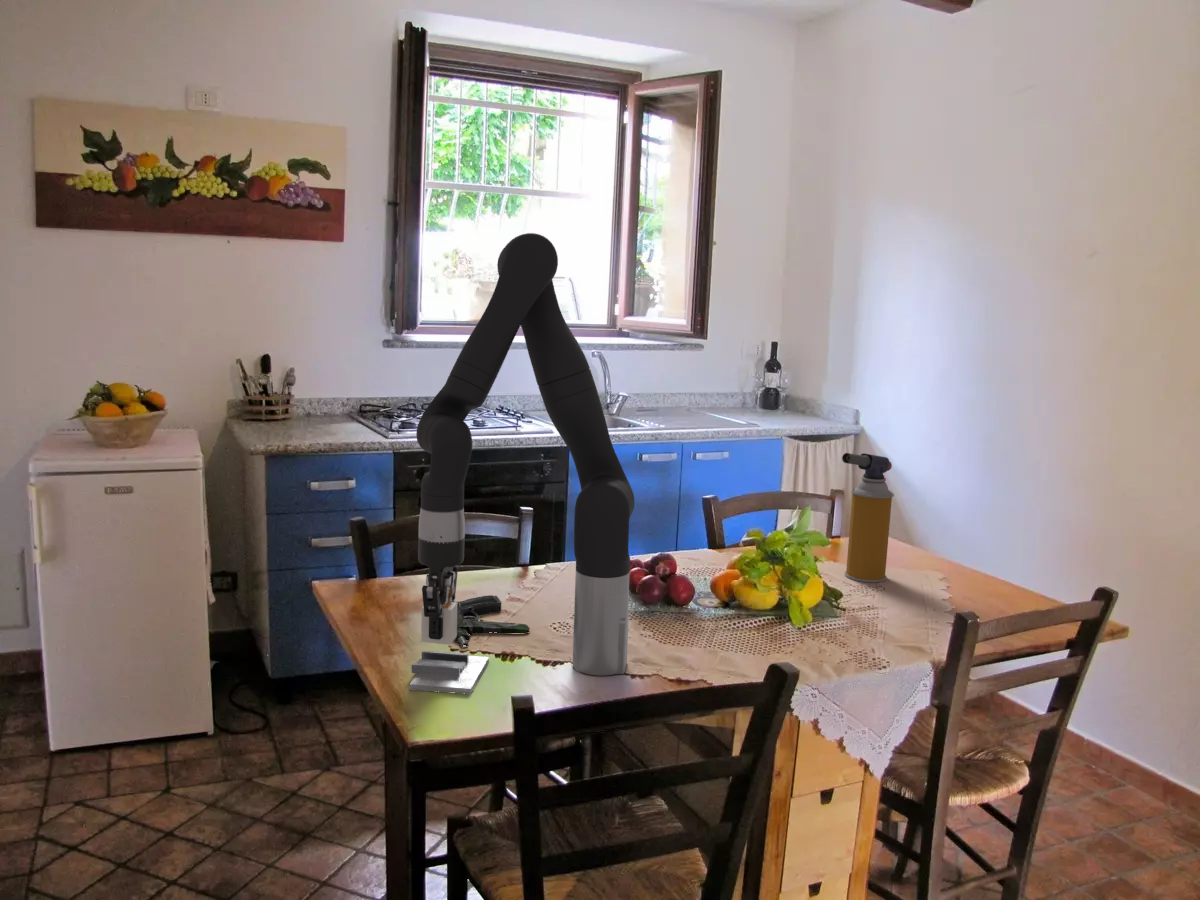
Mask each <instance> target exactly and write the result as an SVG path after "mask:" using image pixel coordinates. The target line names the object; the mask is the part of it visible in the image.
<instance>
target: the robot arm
mask: <svg viewBox="0 0 1200 900" xmlns="http://www.w3.org/2000/svg"><path fill="white" fill-rule="evenodd" d="M496 265H497V272H498V273H497V274H498V279H497V282H496V285H495V289H494V291H493V293H492V295H491V297H490V300H489V302H488V304H487V306H486V308H485V310H484V311H483V313H482V315H481V317H480V318H479V320H478V322H477V324H476V325H475V327H474V328H473V330H472V332H471V333H470V335H469V337H468V339H467V340H466V342H465V344H464V345H463V347H462V348H461V351H460V352H459V355H458V357H457V359H456V361H455V363H454V365H453V366H452V368H451V370H450V372H449V376H448V377H447V379H446V381H445V384H444V385H443V386H442V388H441V389H440V390H439V391H438V392H437V394H436V395H435V396H434V398H433V399H432V401H431V402H429V404H428V406H427V407H426V409H425V410H424V411H423V413H422V415H421V416H420V419H419V422H418V424H417V427H416V434H415V435H416V441H417V444H418V445H419V447H420V448H421V449H422V450H423V451H424V452H426V453H428V454H430V455H431V456H430V464H429V465H430V466H429V471H428V472H426V473H425V474H424V475H422V478H421V484H420V510H419V511H420V512H419V518H418V540H417V541H418V542H417V543H418V546H417V547H418V549H417V560H418V562H419V564H421V565H423V566H426V567H428V573H427V574H426V578H425V585H422V587H421V593H422V604H423V605H422V607H423V606H424V616H425V617H429V638H430V639H438V640H439V639H441V638H442V637H443V616H444V605H445V604H446V603H447V602H452V601H456V600H455V599H456V593H457V592H456V590H457V581H458V572H459V565H461V564H462V563H463V562H465V560H464V559H465V537H466V535H465V533H466V532H465V531H466V519H465V508H464V507H465V480H466V477H467V474H468V471H469V466H470V463H471V462H470V461H471V457H472V452H473V437H472V432H471V428H470V427H469V426H468V424H467V423H466V422H465V420H466V418H467V416H468V415H469V414H470V412H471V411H473V410H475V409H478V408H480V407H482V406H483V404H484V403H485V401H486V400H487V399H488V398H487V397H488V395H489V394H490V392H491V389H492V387H493V386H494V383H495V381H496V379H497V377H498V374H499V373H500V371H501V368H502V366H503V364H504V362H505V360H506V357H507V355H508V352H509V350H510V348H511V346H512V344H513V342H514V340H515V338H516V336H517V334H518V331H519V329H520V327H521V330H522V333H523V337H524V341H525V345H526V348H527V353H528V357H529V361H530V364H531V368H532V371H533V374H534V377H535V381H536V383H537V384H536V385H537V386H538V390H539V393H540V396H541V399H542V402H543V405H544V407H545V411H546V412H547V414H548V417H549V418H550V421H551V422H552V424H553V425H554V428H555V429H556V431H557V433H558V434H559V436H560V437H561V438H562V440H563V442H564V444H565V445H566V446H567V448H568V450H569V452H570V455H571V457H572V460H573V463H574V465H575V469H576V472H577V478H578V481H579V485H580V490H581V491H580V492H579V494H578V495H577V497H576V500H575V506H574V514H573V516H574V517H573V518H574V521H573V525H574V526H573V529H574V530H573V552H574V553H573V554H574V559H575V578H574V579H575V583H574V585H575V586H574V606H573V607H574V608H573V609H574V611H573V634H572V635H573V636H572V637H573V640H572V641H573V642H572V644H573V645H572V667H573V668H574V669H575V670H576V671H577V672H579V673H582V674H585V675H589V676H591V675H592V676H600V677H601V676H612V675H619V674H620V675H623V674H624V675H625V671H626V668H627V662H628V645H629V644H628V641H629V618H630V611H629V594H630V593H629V592H630V570H631V556H630V554H629V552H630V551H629V540H630V538H629V537H630V534H629V533H630V517H631V516H632V514H633V512H634V509H635V494H634V491H633V488H632V486H631V484H630V482H629V479H628V478H627V476H626V473H625V471H624V469H623V466H622V464H621V462H620V460H619V458H618V455H617V453H616V451H615V448H614V446H613V443H612V440H611V437H610V436H611V435H610V433H609V428H608V424H607V421H606V417H605V413H604V410H603V405H602V402H601V400H600V396H599V392H598V389H597V386H596V383H595V380H594V377H593V373H592V370H591V367H590V365H589V362H588V359H587V358H586V355H585V353H584V351H583V349H582V348H581V345H580V344H579V342H578V340H577V339H576V337H575V335H574V334H573V332H572V330H571V329H570V328H569V326H568V324H567V322H566V320H565V319H564V318H565V317H564V316H563V314H562V313H563V312H562V311H561V307H560V305H559V301H558V297H557V294H556V291H555V287H554V282H553V281H554V280H553V279H554V277H555V275H556V273H557V270H558V265H559V258H558V253H557V250H556V248H555V245H554V244H553V243H552V242H551V240H550V239H548V238H547V237H546V236H544V235H542V234H540V233H534V232H527V233H522V234H519V235H517V236H515V237H513V238H512V239H511V240H509V242H508V243H507V244H505V246H504V247H503V249H502V250H501V252H500V253H499V256H498V259H497V264H496ZM433 607H435V609H436V610H432V608H433Z"/></svg>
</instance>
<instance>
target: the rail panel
mask: <svg viewBox="0 0 1200 900" xmlns="http://www.w3.org/2000/svg"><path fill="white" fill-rule="evenodd" d="M489 663H490V656H477V655H469V653H468V652H467V653H465V652H453V651H452V652H451V651H438V650H425V649H423V650H422V651H421V658H419V659H418V661H417V662H413V663H412V664H411V673H412V674H416V675H415V676H414V678H413V679H412V680H411V682H410V683H409V691H417V692H428V691H437V692H436V693H441V692H455V693H462V694H461V695H467V694H473V691H474V690H475V688H474V687H476V686H477V685H478V683H479V681H480V680H481V677H482V676H481V675H483V674H482V673H484V672H485V670H486V669H487V667H488V665H489ZM485 668H486V669H485ZM478 680H479V681H478ZM477 682H478V683H477ZM473 689H474V690H473ZM438 691H439V692H438ZM463 693H465V694H463Z"/></svg>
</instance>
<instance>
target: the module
mask: <svg viewBox="0 0 1200 900" xmlns="http://www.w3.org/2000/svg"><path fill="white" fill-rule="evenodd" d="M457 602H458V601H455V602H447V603H446V604H445V605H444V616H443V637H442V638H441V639H439V640H438V639H430V638H429V617H425V616H424V606H423V605H422V606H421V624H420V625H421V628H420V629H421V634H420V636H421V637H420V639H421V640H420V642H421V643H426V644H427V643H428V644H437V645H438V644H439V645H449V646H450V645H452V643H453V642H455V640H454V639H455V638H456V637H457ZM432 610H436V609H435V607H433V608H432Z"/></svg>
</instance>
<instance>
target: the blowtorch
mask: <svg viewBox="0 0 1200 900" xmlns="http://www.w3.org/2000/svg"><path fill="white" fill-rule="evenodd" d="M841 460H842V462H843V463H844V464H849V465H855V466H858V468H859V470H863V471H865V472H864V473H863V475H862V476H861V480H860V481H859V482H858V485H857V487H854V488H852V489H851V490H850V492H851V494H852V497H851V509H850V510H851V511H850V520H849V522H850V523H849V533H848V535H849V536H848V543H847V547H848V548H847V556H846V558H847V559H846V570H845V571H844V576H845V577H846V578H848V579H850V580H853V581H857V582H861V583H873V584H874V583H882V582H884V581H886V580H887V579H888V578H887V575H886V569H887V568H886V567H887V558H888V557H887V556H888V547H889V545H888V544H889V535H890V524H891V513H892V511H891V510H892V501H893V497H894V496H895V493H894V492H893V491H891V490H889V487H888V484H887V483H886V480H887V478H886V477H885V475H884V474H885V473H887V472H888V471H891V470H892V467H893V465H892V462H891V461H890V460H889V458H888V457H886V456H881V455H875V454H869V453H861V454H855V453H850V452H845V453H844V454H843V455H842V457H841Z"/></svg>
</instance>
